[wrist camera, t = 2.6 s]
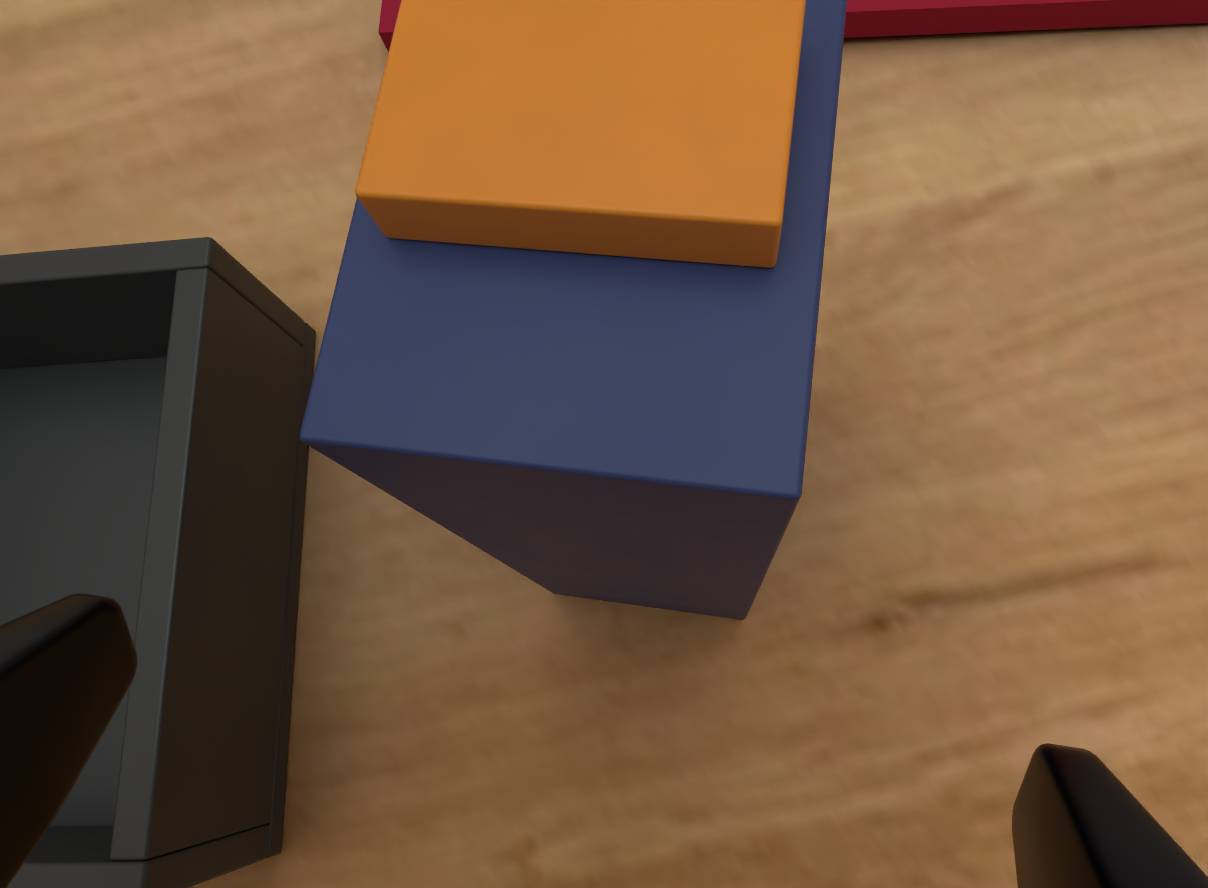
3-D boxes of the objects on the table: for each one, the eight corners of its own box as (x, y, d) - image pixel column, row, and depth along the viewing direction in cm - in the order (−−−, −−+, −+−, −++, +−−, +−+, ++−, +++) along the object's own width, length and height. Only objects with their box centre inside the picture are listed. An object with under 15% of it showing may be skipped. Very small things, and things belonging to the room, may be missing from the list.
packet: (745, 619, 20) (813, 475, 6) (552, 593, 20) (250, 413, 7) (773, 351, 21) (873, -210, 8) (593, 334, 22) (410, -208, 9)
